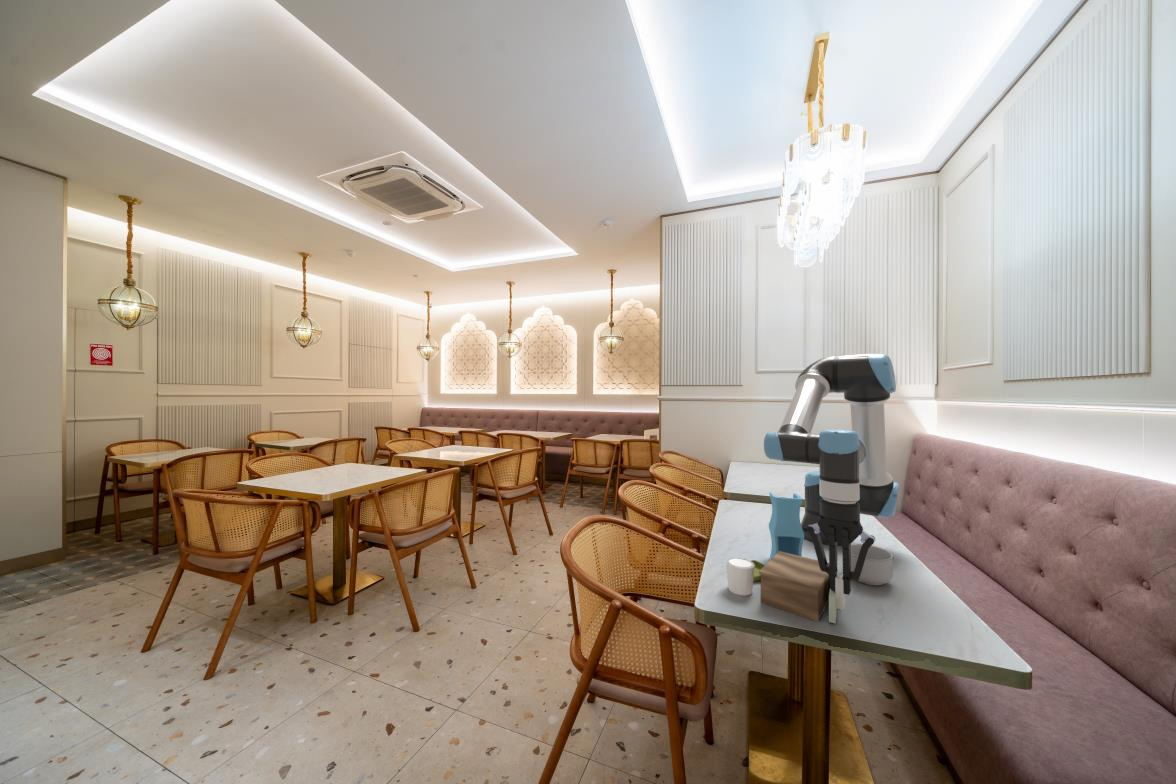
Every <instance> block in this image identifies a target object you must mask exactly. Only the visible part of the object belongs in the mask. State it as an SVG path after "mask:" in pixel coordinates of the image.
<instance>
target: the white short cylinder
mask: <svg viewBox="0 0 1176 784" xmlns="http://www.w3.org/2000/svg"><path fill="white" fill-rule="evenodd" d="M725 564H726V576H727V577H726V578H727V585H728V586H727V587H728V590H729V591H730V592H731V593H732V594H735V595H737V596H738V595H739V596H744V597H745V596H750V595H752V593H753V587H754V581H753V577H754V567H755V564H754V563H753V562H751V560H749V559H747V558H743V557H729V558H727V559H726V561H725Z"/></svg>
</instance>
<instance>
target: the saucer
mask: <svg viewBox="0 0 1176 784" xmlns="http://www.w3.org/2000/svg"><path fill="white" fill-rule="evenodd" d="M750 561H751V562H753V563H754V564H755V567H754V577H753V582H755V581H761V574H759V571H760V570H761V569H762V568H763V567H764V566H765V565H766V564H763V563H762V562H760V561H758V560H756V559H755V560H754V559H752V560H750Z"/></svg>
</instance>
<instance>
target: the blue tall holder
mask: <svg viewBox="0 0 1176 784" xmlns="http://www.w3.org/2000/svg"><path fill="white" fill-rule="evenodd" d="M768 494H769V497H770V502H771V508H772V509H771V516H770V520H769V523H768V530H769V533H770V539H771V549H770V550H771V551H770V557H769V559H770V560H771V559H772V558H773V557H774V556H775V555H776V554H777V553H778V552H779V551H781V552H785V553H789V554H793V555H798V556H802V557H803V554H802V553H803V552H802V551H803V545H804V541H805V538H804V533H803V530H802V527H801V518H800V513H801V507H802V503H803V498H802V497H801V496H800V495H799V494H798V492H793V495H792V497H780V496H776V495H775V494H774V492H772V491H768Z"/></svg>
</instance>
